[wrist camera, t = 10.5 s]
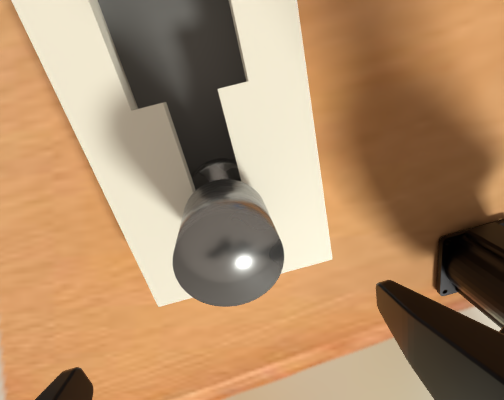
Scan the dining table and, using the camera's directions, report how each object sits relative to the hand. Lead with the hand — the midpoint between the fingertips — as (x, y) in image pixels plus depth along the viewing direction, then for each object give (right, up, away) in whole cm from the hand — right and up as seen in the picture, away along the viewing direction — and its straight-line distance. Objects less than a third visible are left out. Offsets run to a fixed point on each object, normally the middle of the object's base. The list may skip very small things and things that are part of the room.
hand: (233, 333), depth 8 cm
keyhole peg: (-2, +5, +12) cm, 13 cm away
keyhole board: (-3, +9, +10) cm, 14 cm away
